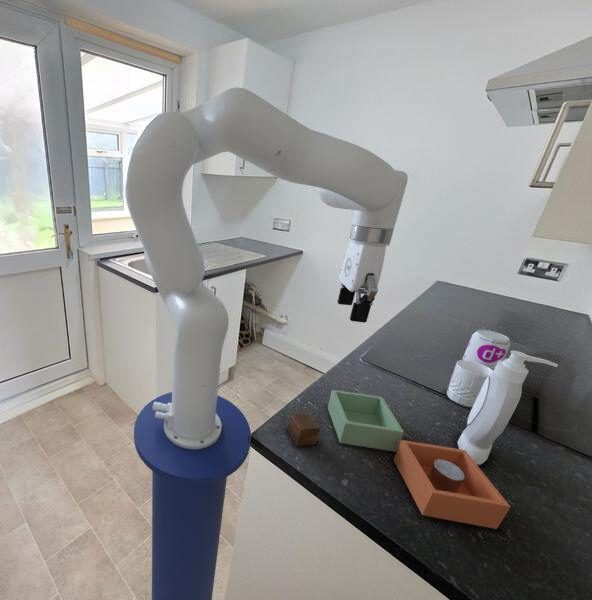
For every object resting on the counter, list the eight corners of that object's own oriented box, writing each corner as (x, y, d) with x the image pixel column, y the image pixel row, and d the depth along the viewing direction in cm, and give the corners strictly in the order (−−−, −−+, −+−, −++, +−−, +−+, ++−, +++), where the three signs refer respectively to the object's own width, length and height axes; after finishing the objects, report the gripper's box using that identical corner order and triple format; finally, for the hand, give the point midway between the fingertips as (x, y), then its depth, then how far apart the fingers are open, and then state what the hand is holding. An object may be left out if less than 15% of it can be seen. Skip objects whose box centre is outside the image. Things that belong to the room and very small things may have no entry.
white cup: (449, 386, 90) (462, 357, 86) (484, 402, 84) (499, 371, 80) (439, 396, 86) (452, 364, 82) (475, 413, 80) (490, 380, 76)
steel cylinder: (433, 497, 56) (442, 477, 55) (421, 476, 60) (429, 457, 59) (460, 502, 56) (470, 482, 54) (445, 480, 60) (455, 461, 58)
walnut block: (296, 446, 67) (300, 429, 65) (287, 430, 71) (290, 414, 69) (315, 444, 67) (320, 427, 66) (305, 428, 72) (309, 413, 70)
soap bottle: (505, 483, 60) (565, 378, 52) (455, 460, 65) (502, 360, 56) (501, 445, 70) (552, 351, 61) (458, 427, 74) (499, 337, 66)
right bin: (422, 515, 54) (432, 492, 52) (393, 460, 64) (401, 439, 62) (497, 529, 52) (510, 506, 50) (455, 470, 63) (464, 449, 61)
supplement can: (494, 390, 89) (516, 344, 84) (458, 380, 93) (477, 336, 88) (487, 377, 96) (507, 333, 90) (454, 368, 100) (471, 326, 94)
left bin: (339, 442, 68) (345, 423, 66) (327, 407, 79) (332, 389, 77) (396, 452, 66) (404, 432, 64) (376, 414, 77) (382, 396, 75)
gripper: (339, 228, 72) (324, 297, 78) (365, 241, 56) (343, 326, 62) (374, 230, 71) (356, 300, 77) (410, 244, 55) (384, 331, 61)
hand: (350, 312), depth 69 cm, fingers open, 9 cm apart
